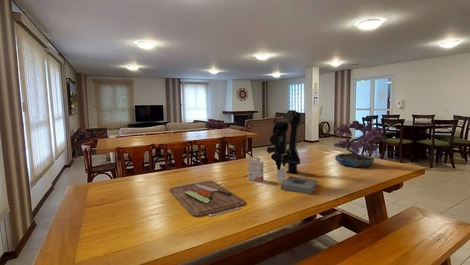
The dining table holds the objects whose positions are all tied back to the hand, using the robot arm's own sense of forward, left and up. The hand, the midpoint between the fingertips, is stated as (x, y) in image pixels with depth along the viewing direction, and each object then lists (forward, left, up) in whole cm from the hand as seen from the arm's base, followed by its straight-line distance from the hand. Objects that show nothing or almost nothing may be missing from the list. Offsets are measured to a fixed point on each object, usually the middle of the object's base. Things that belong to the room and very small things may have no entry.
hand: (281, 167), depth 151 cm
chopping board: (+42, -26, -8) cm, 50 cm away
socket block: (+7, +13, -8) cm, 17 cm away
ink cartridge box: (+6, -14, -8) cm, 17 cm away
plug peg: (0, 0, -8) cm, 8 cm away
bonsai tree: (-59, +38, -8) cm, 71 cm away
